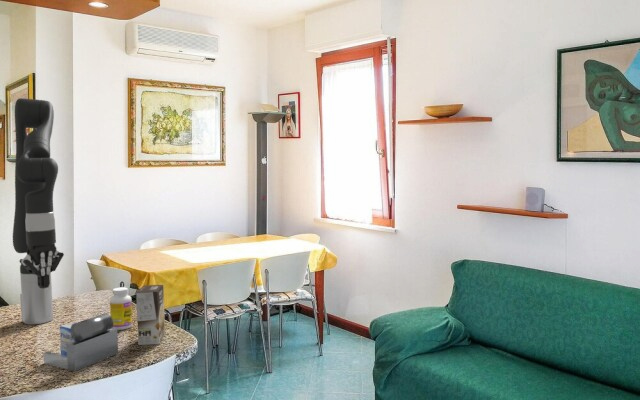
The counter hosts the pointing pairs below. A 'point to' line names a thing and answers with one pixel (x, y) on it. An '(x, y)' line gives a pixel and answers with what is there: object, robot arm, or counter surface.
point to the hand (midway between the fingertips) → (43, 287)
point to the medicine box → (65, 337)
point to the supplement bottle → (121, 309)
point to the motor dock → (87, 344)
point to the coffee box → (150, 314)
